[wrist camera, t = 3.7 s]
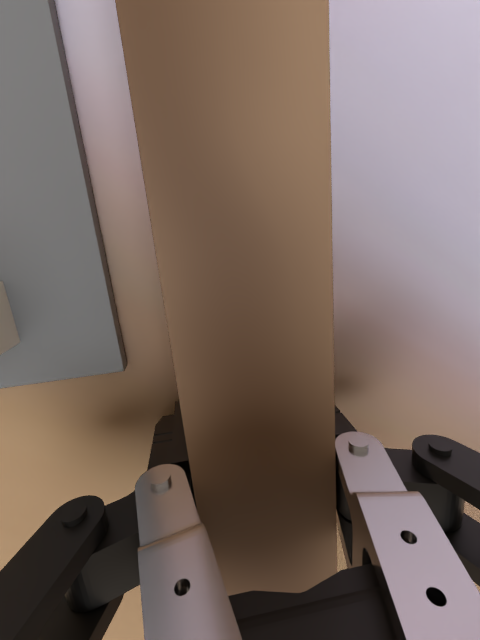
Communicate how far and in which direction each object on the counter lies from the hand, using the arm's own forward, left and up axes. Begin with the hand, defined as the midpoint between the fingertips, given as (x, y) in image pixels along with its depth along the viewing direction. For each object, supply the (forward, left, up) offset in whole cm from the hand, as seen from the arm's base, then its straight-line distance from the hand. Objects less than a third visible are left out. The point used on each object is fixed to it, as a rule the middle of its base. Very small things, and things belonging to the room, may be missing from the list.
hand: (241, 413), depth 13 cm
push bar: (0, -5, 0) cm, 5 cm away
